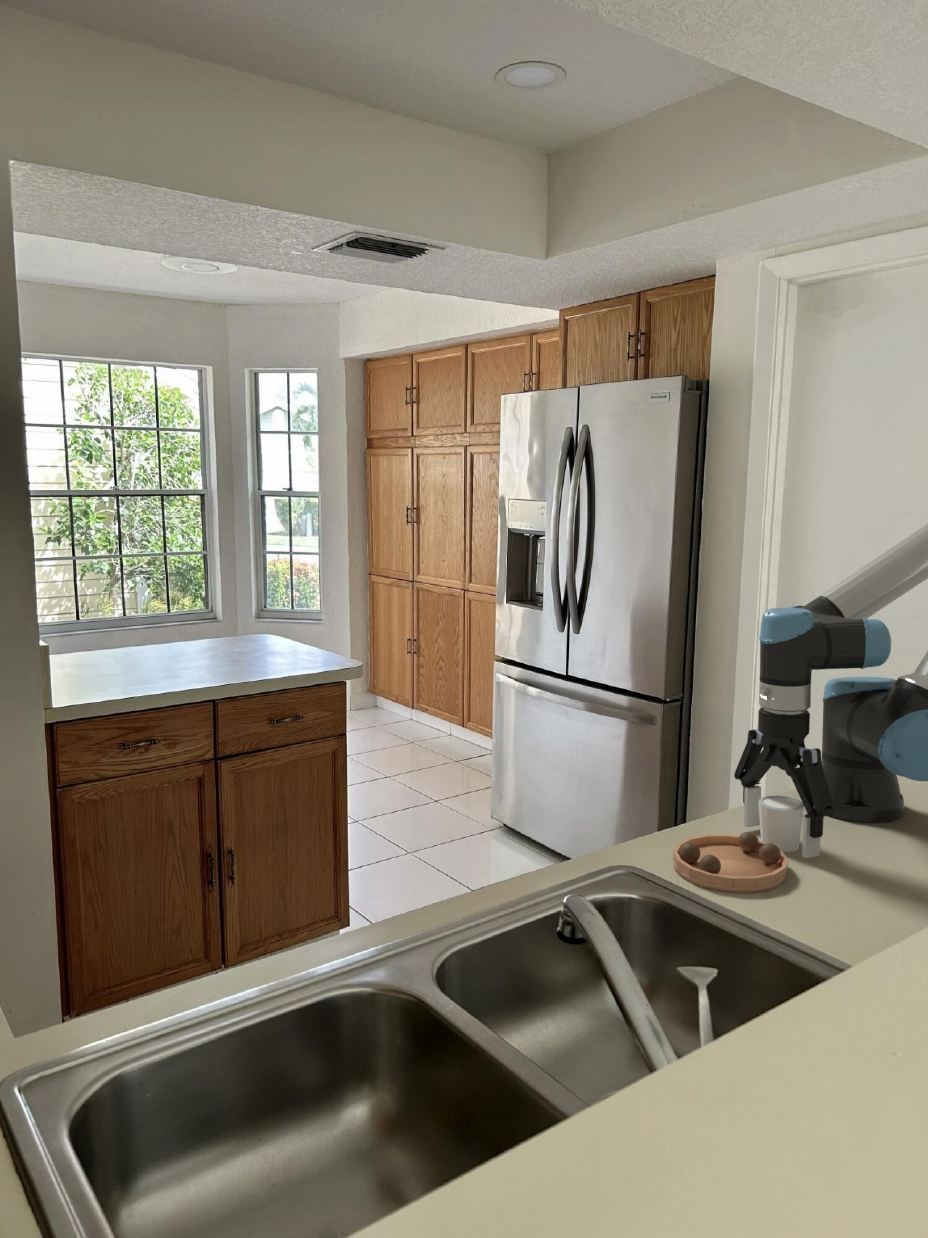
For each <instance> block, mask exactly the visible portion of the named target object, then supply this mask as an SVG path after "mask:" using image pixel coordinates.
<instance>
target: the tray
mask: <svg viewBox="0 0 928 1238" xmlns="http://www.w3.org/2000/svg"><path fill="white" fill-rule="evenodd" d="M739 836H740V835H732V834H704V835H698V836H693V837H692V836H691V837H689V838H686V839H684V840H681V841H680V842H678V843H676V846H675V847H674V849H673V852H672V854H673V855H672V860H673V863H674V864H673V867H674V871H675V872H676V873H677V874H678V875H679V877H681V878H683V880H685V881H687V882H689V883H691V884H693V885H694V886H695V885H696V886H698V887H701V888H705V889H706V890H712V891H717V892H721V893H732V894H754V893H763V892H767V891H771V890H774V889H776V888H778V887H780V886H782V885H783V884H784V883H785V882H786V880H787V876H788V866H789V864H788V863H789V858H788V857H787V856H786V855H785V853H784V852H782V851H781V850H780V852H781V857H780V859H779V861H778V862H776V863H774V864H767V863H765V862H764V861H762V859H761V858H760V855H759V851H760V848H761V847H762V846H763V845H764V844H766V843H765V842H762V841H761V840H759V845H758V847H757V849H756V850H754V851H752V852H746V851H744V850H742V849H741V848H740V846H739V844H738V839H739ZM685 843H694V844H695V845H697V846H698V848H699V849H700V858H699V860H698V861H697V862H695V863H691V864H690V863H686V862H684V861H683V860H682V859H681V857H680V848H681V847H682V845H684V844H685ZM705 855H713V856H715V857H717V858H718V859H719V861H720V863H721V869H720V872H719V873H718V874H712V873H709V872H706V871H703V870H700V867H699V863H700V860H701V858H702V857H704V856H705Z"/></svg>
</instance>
